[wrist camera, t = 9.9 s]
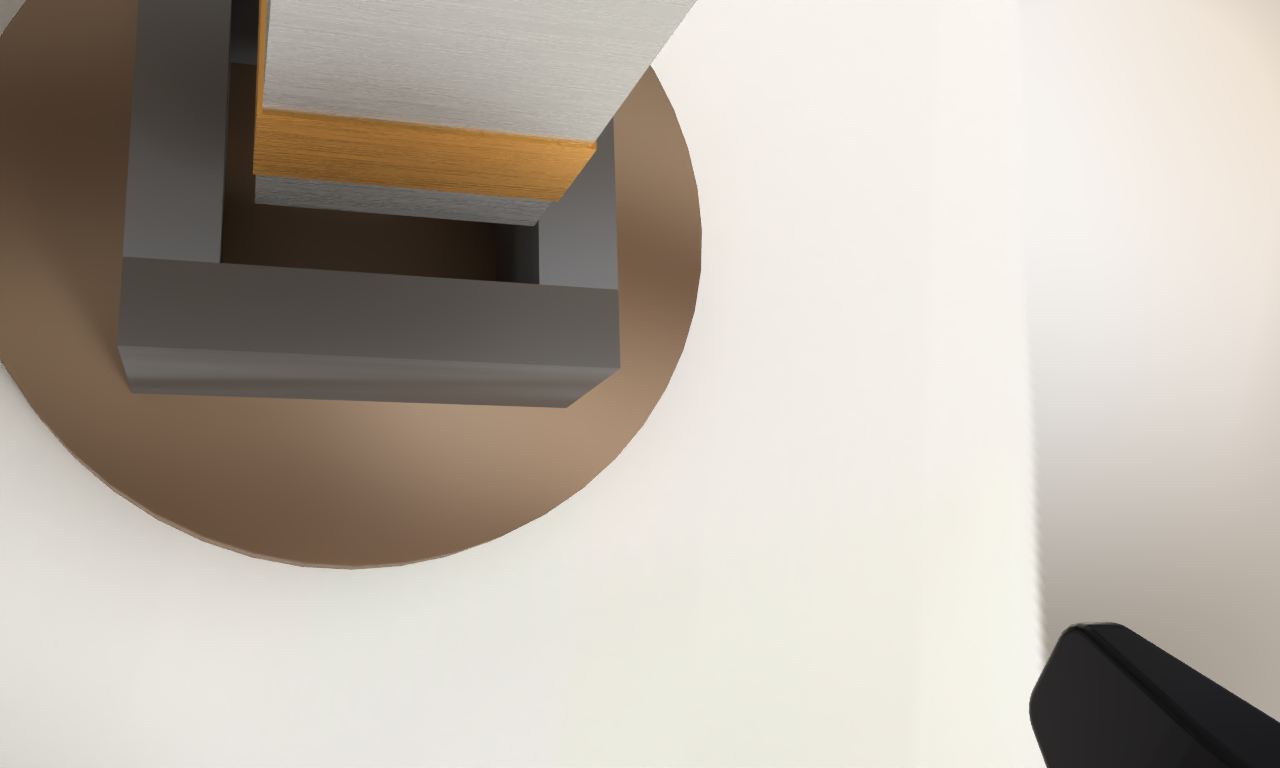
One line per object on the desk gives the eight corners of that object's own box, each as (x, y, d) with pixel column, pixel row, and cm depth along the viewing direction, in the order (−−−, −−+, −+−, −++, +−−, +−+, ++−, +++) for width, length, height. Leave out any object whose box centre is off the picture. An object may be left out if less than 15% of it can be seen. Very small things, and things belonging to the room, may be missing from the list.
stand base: (695, 566, 22) (792, 546, 18) (-65, 573, 18) (-136, 549, 14) (671, -41, 24) (751, -166, 21) (1, -147, 21) (-46, -324, 17)
